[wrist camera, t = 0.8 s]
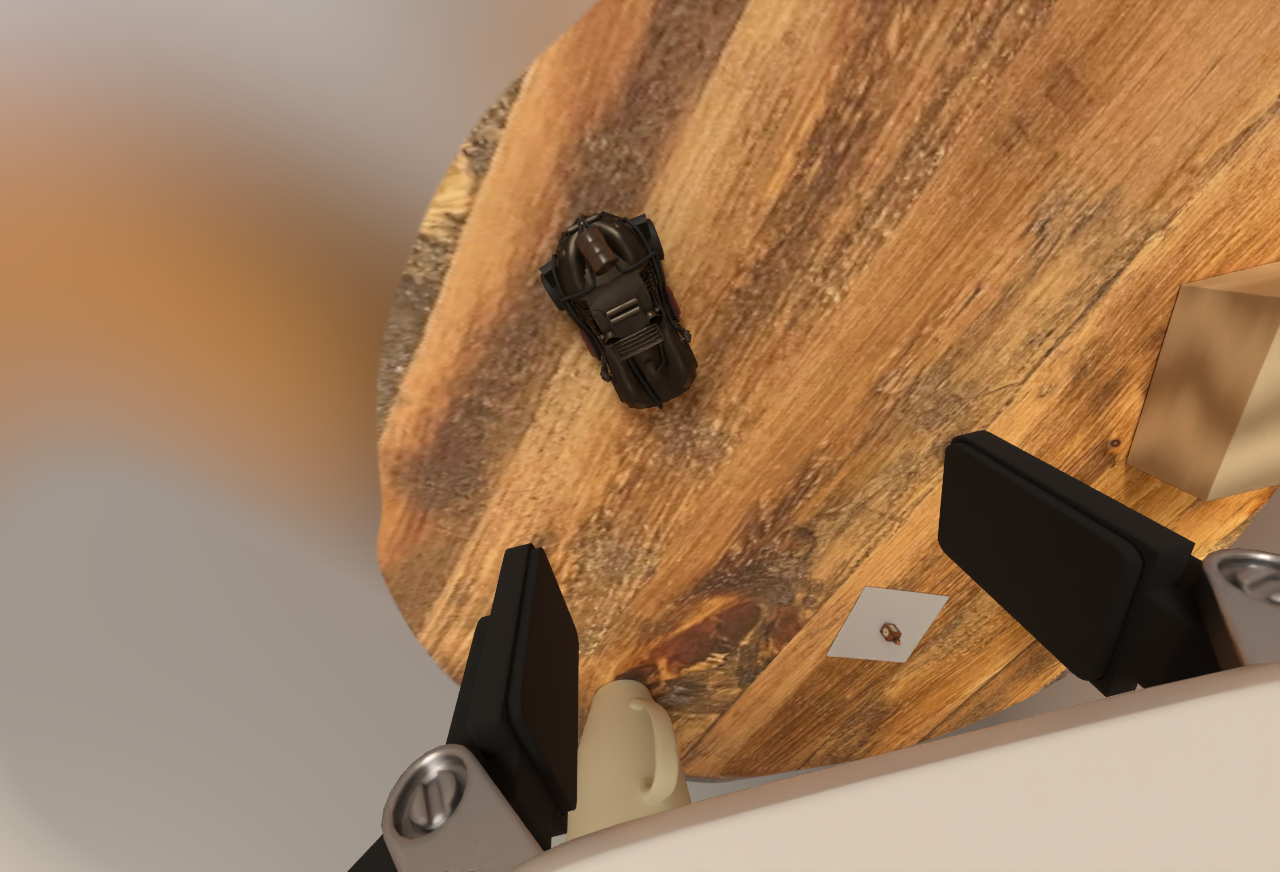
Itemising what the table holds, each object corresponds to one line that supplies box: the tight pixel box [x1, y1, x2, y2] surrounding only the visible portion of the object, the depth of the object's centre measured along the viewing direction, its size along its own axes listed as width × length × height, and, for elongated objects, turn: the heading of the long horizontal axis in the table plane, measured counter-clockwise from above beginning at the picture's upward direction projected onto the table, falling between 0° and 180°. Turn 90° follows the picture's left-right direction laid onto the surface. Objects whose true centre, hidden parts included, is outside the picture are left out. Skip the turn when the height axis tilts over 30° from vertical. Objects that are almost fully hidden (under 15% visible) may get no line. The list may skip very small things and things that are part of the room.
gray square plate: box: [826, 586, 950, 662], centre depth 39 cm, size 8×8×2 cm
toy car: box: [539, 212, 698, 432], centre depth 24 cm, size 6×12×4 cm, turn 25°
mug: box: [566, 680, 691, 842], centre depth 34 cm, size 11×10×12 cm
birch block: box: [1126, 261, 1280, 502], centre depth 29 cm, size 13×8×5 cm, turn 12°
